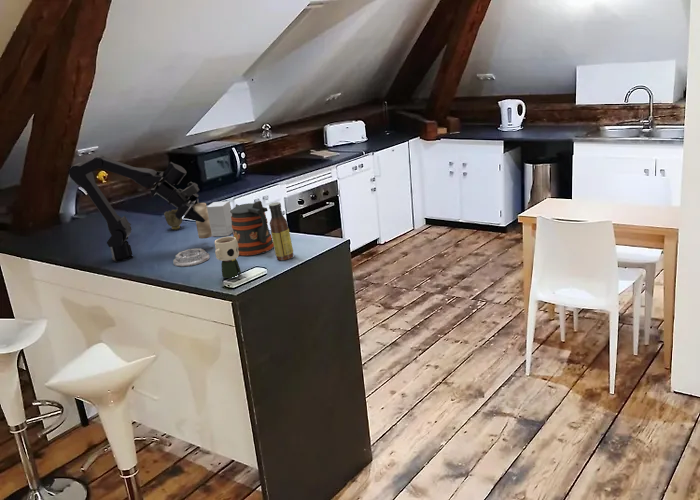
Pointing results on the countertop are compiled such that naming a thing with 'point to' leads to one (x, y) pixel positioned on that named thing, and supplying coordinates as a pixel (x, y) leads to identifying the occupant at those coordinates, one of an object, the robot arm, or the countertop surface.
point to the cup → (173, 219)
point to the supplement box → (220, 218)
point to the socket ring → (191, 257)
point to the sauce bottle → (280, 233)
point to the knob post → (203, 227)
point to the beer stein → (251, 229)
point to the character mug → (228, 256)
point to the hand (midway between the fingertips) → (205, 219)
